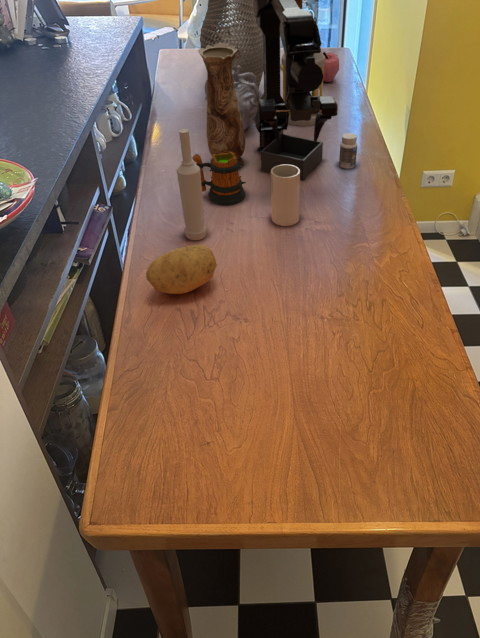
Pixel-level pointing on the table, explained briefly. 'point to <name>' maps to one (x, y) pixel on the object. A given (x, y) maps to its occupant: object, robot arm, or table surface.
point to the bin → (292, 154)
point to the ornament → (245, 96)
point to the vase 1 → (249, 33)
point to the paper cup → (285, 194)
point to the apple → (330, 66)
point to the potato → (182, 269)
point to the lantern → (320, 61)
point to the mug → (223, 178)
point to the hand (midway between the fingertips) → (296, 142)
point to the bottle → (190, 191)
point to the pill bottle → (348, 151)
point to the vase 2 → (222, 102)
